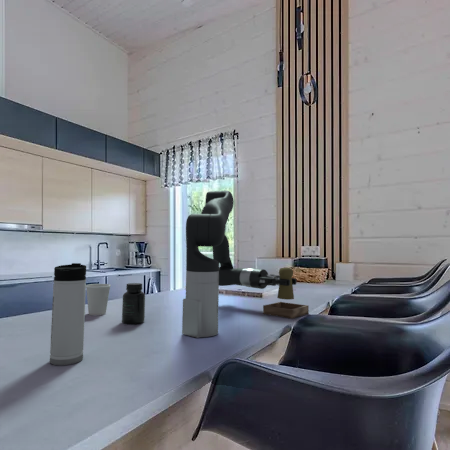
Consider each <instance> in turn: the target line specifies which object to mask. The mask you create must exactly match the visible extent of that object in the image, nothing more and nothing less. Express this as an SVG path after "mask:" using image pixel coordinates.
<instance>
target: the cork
mask: <svg viewBox="0 0 450 450" xmlns="http://www.w3.org/2000/svg"><path fill="white" fill-rule="evenodd" d="M278 275H280V279H289V280H290V285H289V286H285V285H279V286H278V291H277V299H278V300H286V301H287V300H294V299H295V295H294V287H293V286H294V285H292V278H293V276H294V270H293V269H292V268H290V267H281V268H280V269H279V270H278Z"/></svg>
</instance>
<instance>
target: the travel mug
mask: <svg viewBox="0 0 450 450" xmlns="http://www.w3.org/2000/svg"><path fill="white" fill-rule="evenodd" d="M53 271H54V272H53V275H54V277H53V287H52V289H53V290H52V307H51V325H50V326H51V329H50V351H49V353H50V355H49V362H50V364H51V365H54V366H69V365H75V364H77V363H80V362H81V361H82V360H83V359H84V345H85V344H84V341H85V340H84V339H85V337H84V336H85V319H86V317H85V316H86V315H85V312H86V296H87V290H86V285H87V283H86V282H87V277H86V276H87V265H85V264H82V263H81V262H80V263H78V262H72V263H71V264H63V265H62V264H61V265H57V266H55V267H54V270H53Z"/></svg>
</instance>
